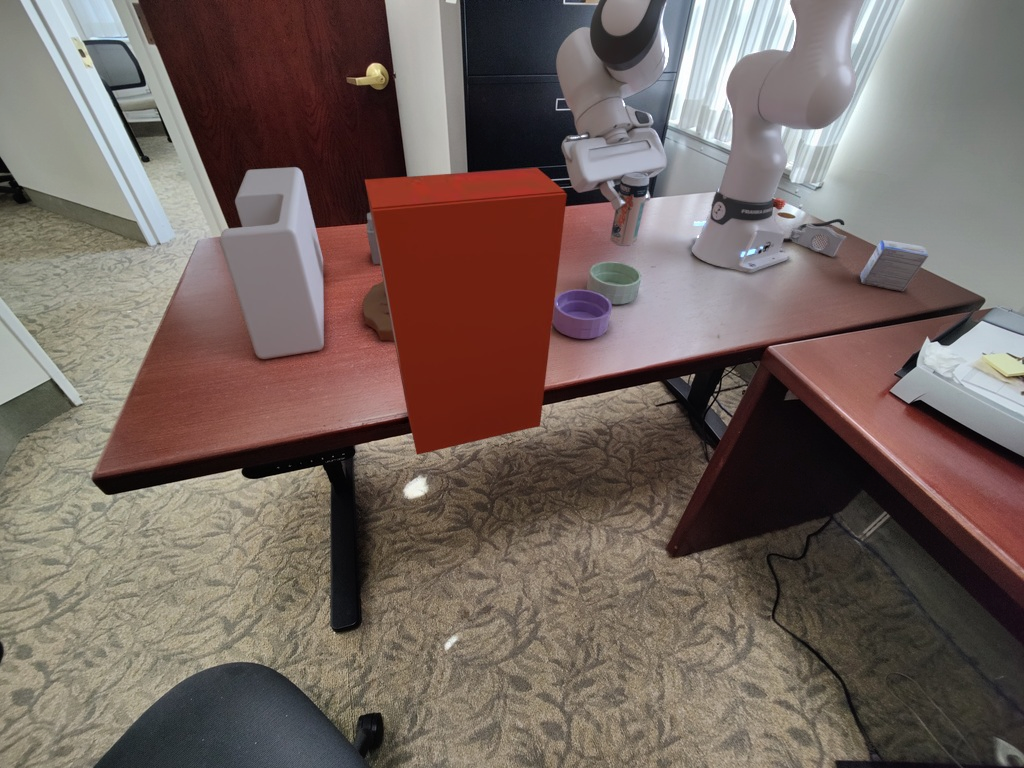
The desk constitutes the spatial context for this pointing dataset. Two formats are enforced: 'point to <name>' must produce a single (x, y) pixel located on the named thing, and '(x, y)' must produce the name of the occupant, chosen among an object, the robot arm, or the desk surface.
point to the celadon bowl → (614, 281)
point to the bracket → (277, 263)
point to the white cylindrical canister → (630, 208)
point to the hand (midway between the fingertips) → (633, 204)
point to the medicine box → (893, 265)
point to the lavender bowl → (581, 313)
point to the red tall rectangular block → (469, 297)
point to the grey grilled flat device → (811, 233)
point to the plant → (378, 312)
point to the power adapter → (372, 240)
